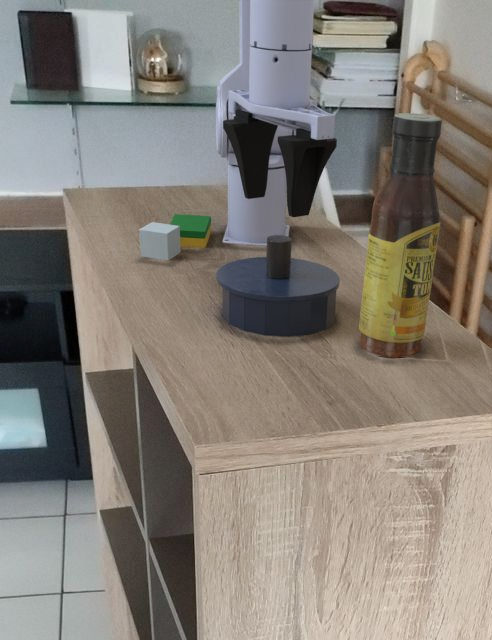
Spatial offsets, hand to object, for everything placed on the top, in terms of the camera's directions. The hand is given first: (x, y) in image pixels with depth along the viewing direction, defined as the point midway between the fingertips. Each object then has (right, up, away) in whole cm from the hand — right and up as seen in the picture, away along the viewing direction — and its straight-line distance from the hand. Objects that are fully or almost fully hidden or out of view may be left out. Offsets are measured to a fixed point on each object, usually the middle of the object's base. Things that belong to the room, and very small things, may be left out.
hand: (276, 206), depth 90 cm
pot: (0, -11, +1) cm, 11 cm away
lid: (0, -8, -2) cm, 8 cm away
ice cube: (-14, +1, +15) cm, 20 cm away
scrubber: (-11, +5, +20) cm, 23 cm away
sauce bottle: (+11, -16, -4) cm, 20 cm away
